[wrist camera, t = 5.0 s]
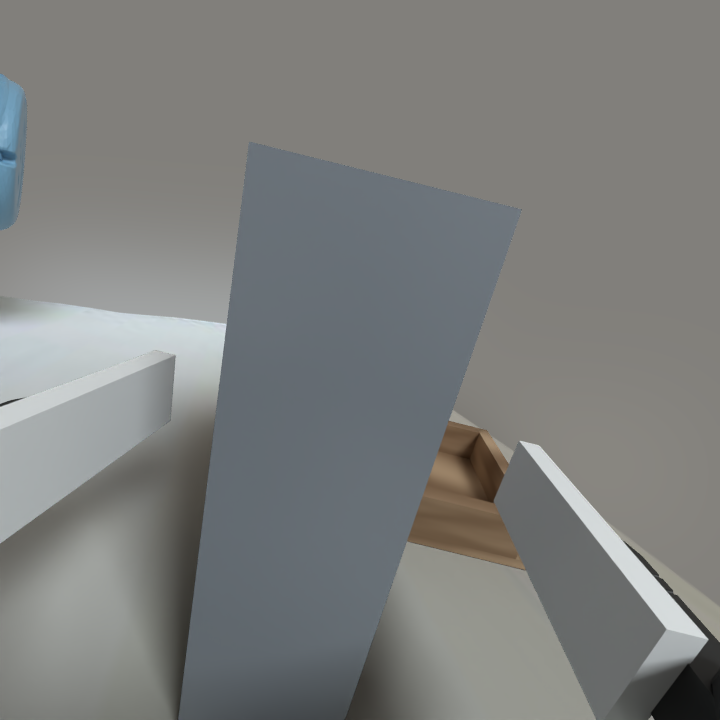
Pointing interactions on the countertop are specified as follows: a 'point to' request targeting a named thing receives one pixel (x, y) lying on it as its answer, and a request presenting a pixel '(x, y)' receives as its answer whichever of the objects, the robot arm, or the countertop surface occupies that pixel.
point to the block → (327, 423)
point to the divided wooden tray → (465, 499)
